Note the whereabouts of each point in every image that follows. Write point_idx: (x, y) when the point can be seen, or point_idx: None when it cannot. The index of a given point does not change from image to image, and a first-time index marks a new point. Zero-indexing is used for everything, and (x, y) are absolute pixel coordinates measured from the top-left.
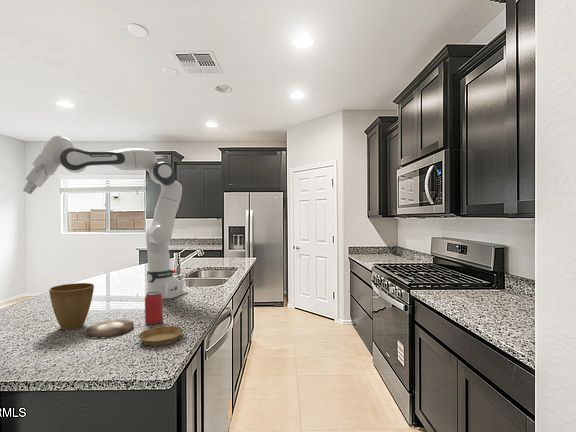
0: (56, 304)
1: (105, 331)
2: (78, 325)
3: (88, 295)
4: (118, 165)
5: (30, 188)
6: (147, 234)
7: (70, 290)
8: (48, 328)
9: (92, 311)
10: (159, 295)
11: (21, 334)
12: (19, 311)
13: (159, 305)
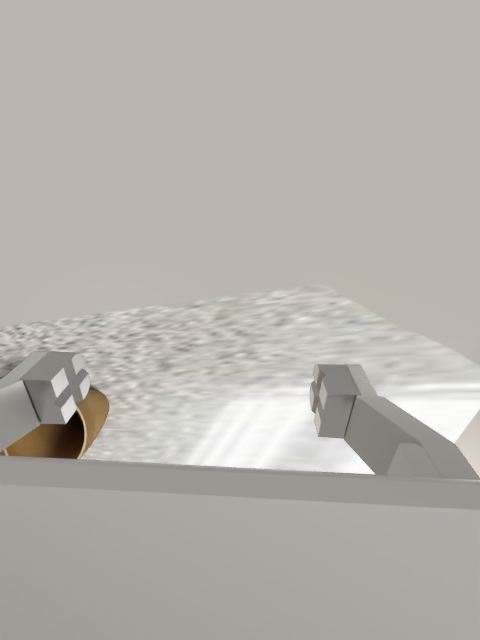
0: None
1: (5, 454)
2: (74, 417)
3: (30, 456)
4: None
5: (369, 418)
6: None
7: (91, 424)
8: (109, 371)
9: (184, 442)
10: None
11: (99, 335)
12: (276, 313)
13: None
